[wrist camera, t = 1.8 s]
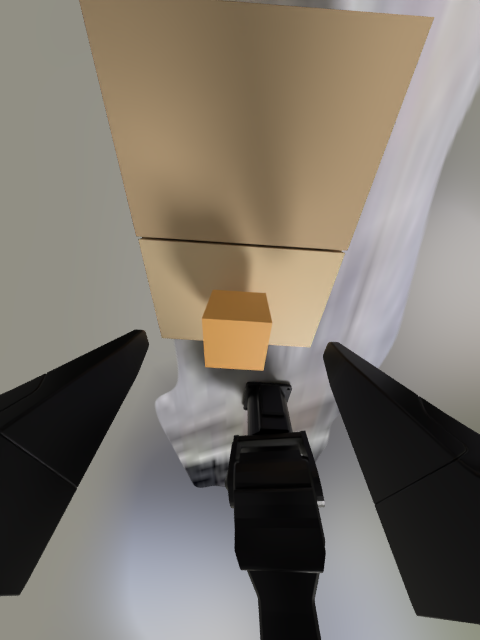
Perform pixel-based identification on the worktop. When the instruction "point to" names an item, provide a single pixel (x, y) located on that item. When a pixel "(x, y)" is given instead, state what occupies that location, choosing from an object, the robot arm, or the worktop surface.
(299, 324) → the pull drawer
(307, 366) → the worktop surface
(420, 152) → the worktop surface
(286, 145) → the carton
